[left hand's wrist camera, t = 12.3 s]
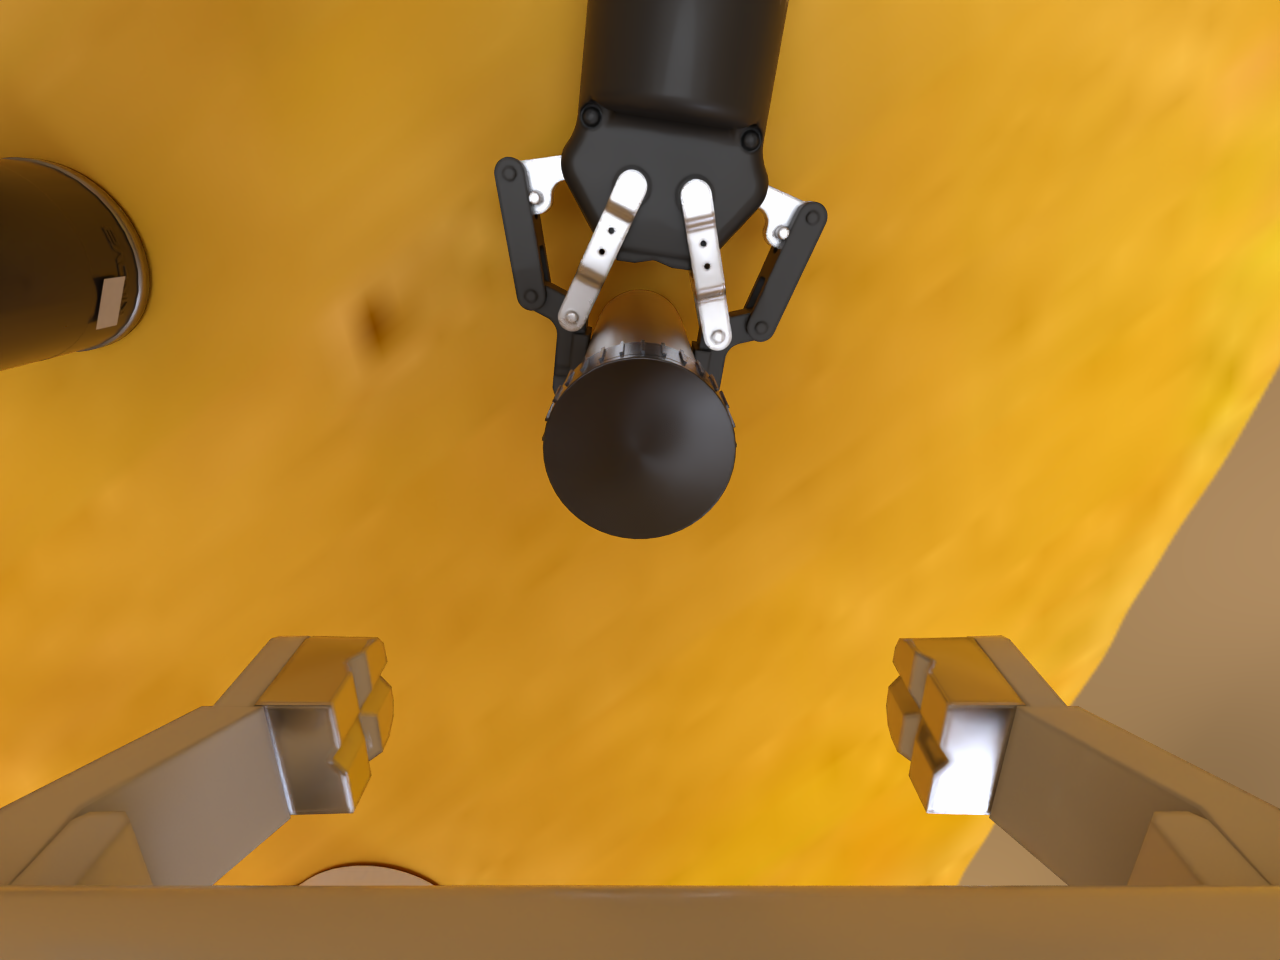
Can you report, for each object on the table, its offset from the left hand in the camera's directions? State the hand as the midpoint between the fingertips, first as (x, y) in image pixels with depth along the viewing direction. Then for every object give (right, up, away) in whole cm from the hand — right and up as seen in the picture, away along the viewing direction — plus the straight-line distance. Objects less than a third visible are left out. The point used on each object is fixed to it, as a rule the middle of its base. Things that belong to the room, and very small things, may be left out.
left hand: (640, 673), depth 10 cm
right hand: (0, +6, +22) cm, 23 cm away
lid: (0, +4, +10) cm, 10 cm away
